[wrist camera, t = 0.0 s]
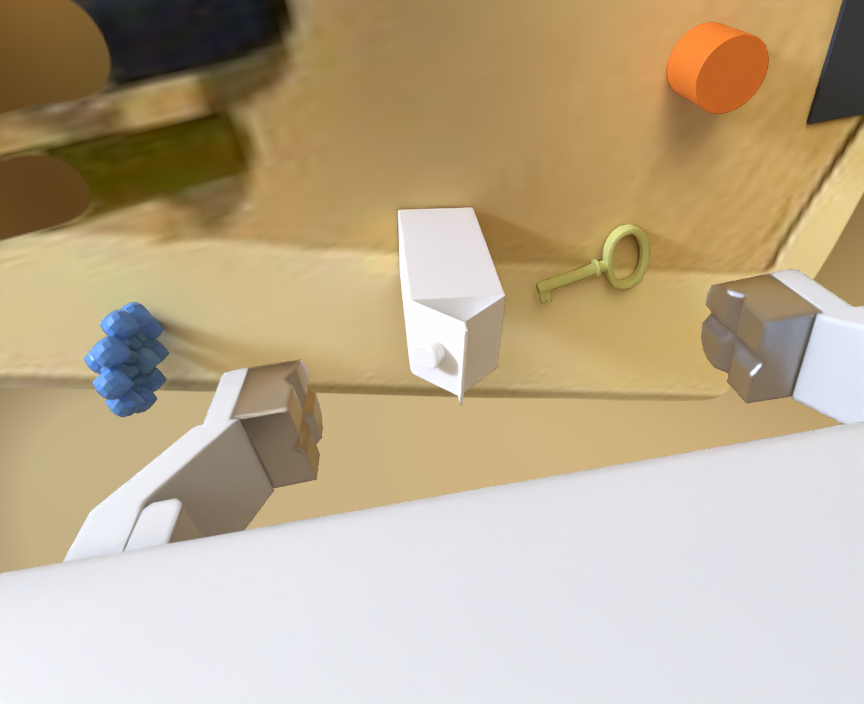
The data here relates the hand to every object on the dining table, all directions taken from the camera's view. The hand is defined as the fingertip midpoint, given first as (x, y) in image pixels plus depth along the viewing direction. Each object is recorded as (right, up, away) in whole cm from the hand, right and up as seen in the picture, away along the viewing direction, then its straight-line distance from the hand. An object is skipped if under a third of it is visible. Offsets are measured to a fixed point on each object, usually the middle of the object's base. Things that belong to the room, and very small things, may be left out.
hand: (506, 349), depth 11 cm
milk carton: (-1, +11, +42) cm, 43 cm away
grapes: (-31, +3, +44) cm, 54 cm away
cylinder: (+21, +24, +34) cm, 46 cm away
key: (+15, +9, +46) cm, 49 cm away
